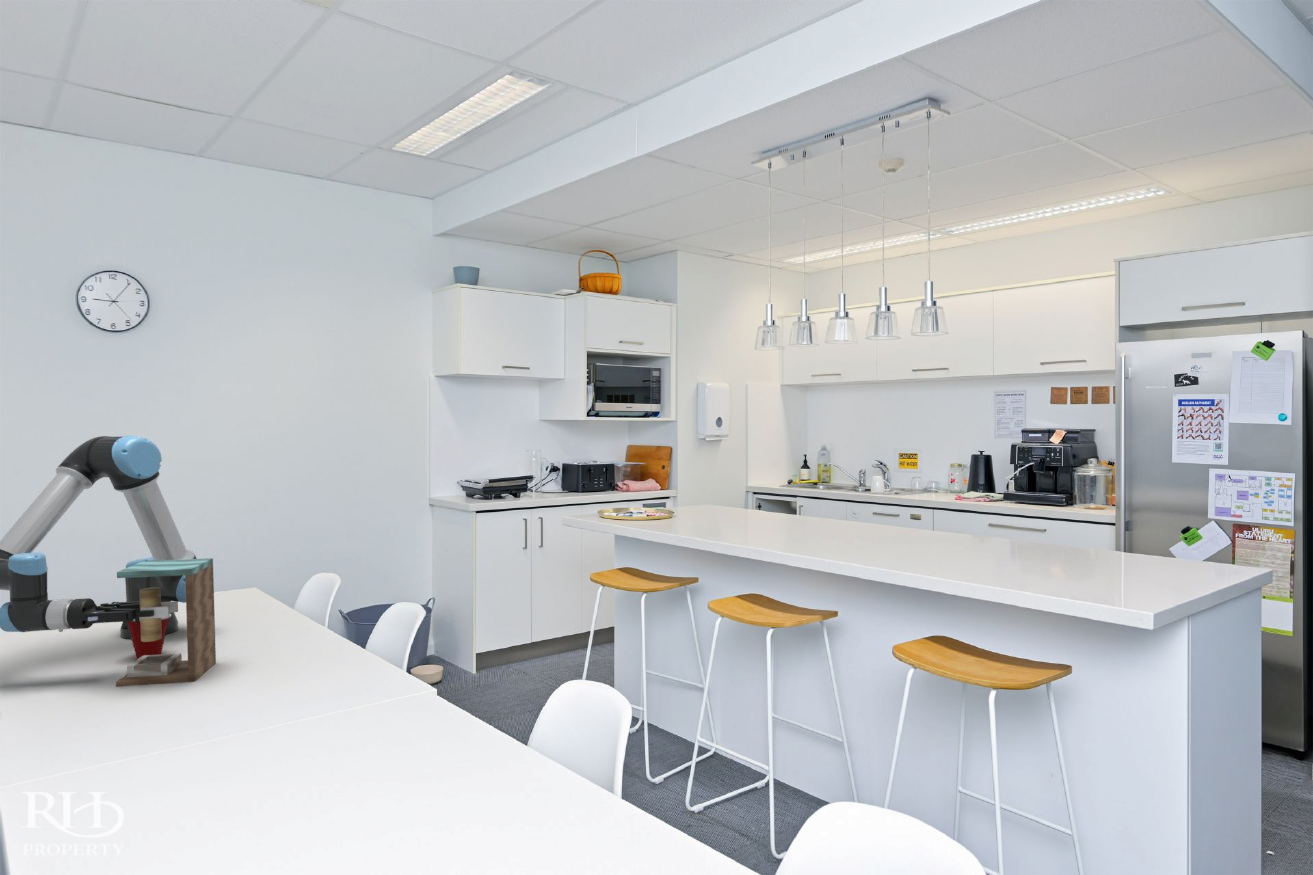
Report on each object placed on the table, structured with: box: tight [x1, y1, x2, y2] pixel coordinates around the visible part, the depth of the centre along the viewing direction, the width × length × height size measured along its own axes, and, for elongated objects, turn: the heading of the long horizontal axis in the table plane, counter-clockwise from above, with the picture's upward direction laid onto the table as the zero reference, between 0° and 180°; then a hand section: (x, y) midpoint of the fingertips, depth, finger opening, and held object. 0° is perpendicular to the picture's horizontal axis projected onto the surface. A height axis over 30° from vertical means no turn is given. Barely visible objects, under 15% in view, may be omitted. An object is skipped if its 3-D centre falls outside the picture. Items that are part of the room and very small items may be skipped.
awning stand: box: [115, 557, 217, 687], centre depth 209 cm, size 15×18×28 cm
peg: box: [139, 587, 162, 642], centre depth 208 cm, size 5×5×13 cm
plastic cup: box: [128, 614, 171, 660], centre depth 224 cm, size 11×11×12 cm
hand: (173, 609), depth 209 cm, fingers closed on peg, 4 cm apart
